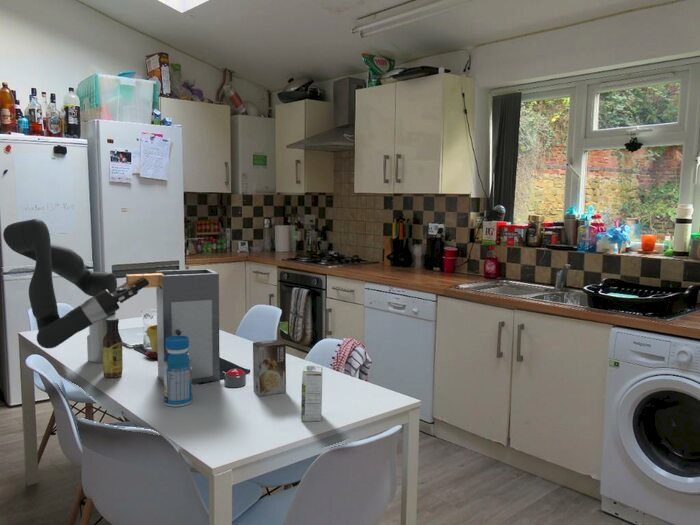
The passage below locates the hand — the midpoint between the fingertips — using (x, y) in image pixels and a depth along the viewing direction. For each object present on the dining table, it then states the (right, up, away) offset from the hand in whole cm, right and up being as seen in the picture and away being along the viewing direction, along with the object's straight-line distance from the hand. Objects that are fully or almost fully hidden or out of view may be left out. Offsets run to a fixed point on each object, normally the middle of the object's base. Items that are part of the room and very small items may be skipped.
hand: (145, 279), depth 190 cm
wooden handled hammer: (+7, -2, +4) cm, 8 cm away
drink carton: (+56, -39, -24) cm, 72 cm away
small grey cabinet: (+11, -34, +10) cm, 37 cm away
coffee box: (+41, -36, -3) cm, 54 cm away
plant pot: (-9, -30, +43) cm, 53 cm away
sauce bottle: (-15, -34, +11) cm, 38 cm away
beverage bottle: (+15, -37, -14) cm, 42 cm away
